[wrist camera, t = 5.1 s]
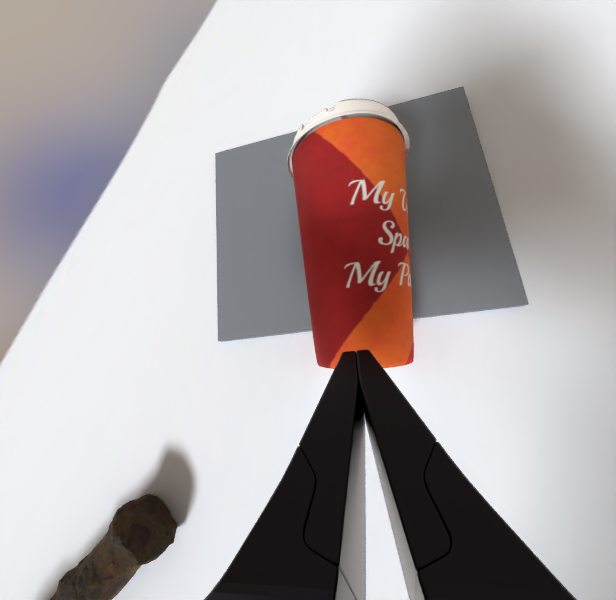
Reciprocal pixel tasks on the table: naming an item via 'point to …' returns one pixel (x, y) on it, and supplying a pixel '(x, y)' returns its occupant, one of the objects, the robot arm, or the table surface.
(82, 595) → the brown wooden branch
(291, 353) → the table surface
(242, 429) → the table surface
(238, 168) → the mat
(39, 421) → the table surface
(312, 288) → the paper cup
